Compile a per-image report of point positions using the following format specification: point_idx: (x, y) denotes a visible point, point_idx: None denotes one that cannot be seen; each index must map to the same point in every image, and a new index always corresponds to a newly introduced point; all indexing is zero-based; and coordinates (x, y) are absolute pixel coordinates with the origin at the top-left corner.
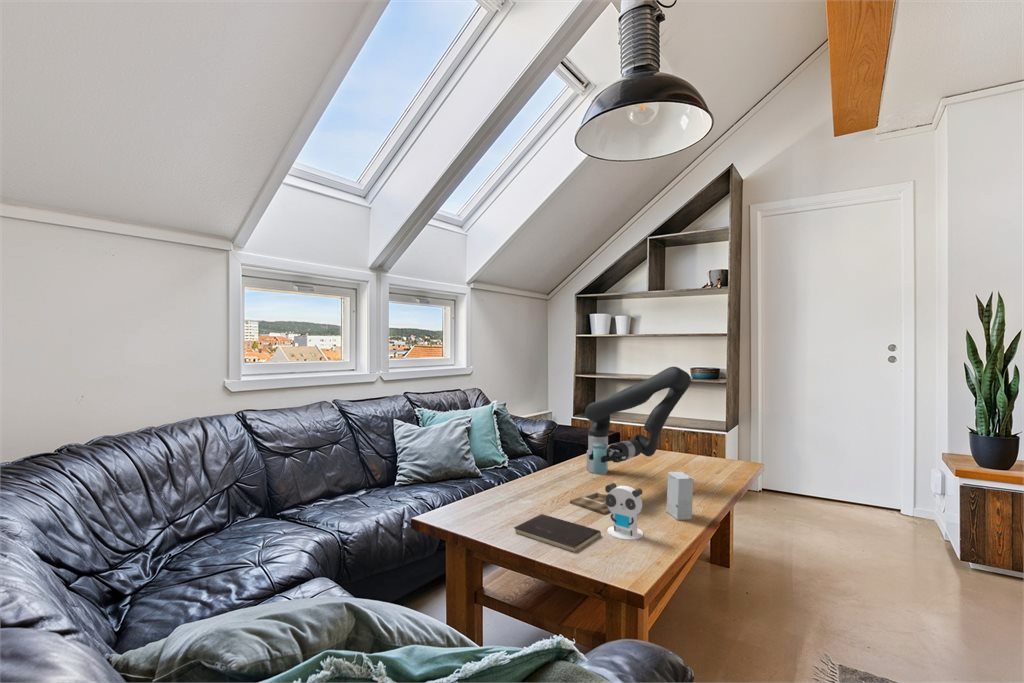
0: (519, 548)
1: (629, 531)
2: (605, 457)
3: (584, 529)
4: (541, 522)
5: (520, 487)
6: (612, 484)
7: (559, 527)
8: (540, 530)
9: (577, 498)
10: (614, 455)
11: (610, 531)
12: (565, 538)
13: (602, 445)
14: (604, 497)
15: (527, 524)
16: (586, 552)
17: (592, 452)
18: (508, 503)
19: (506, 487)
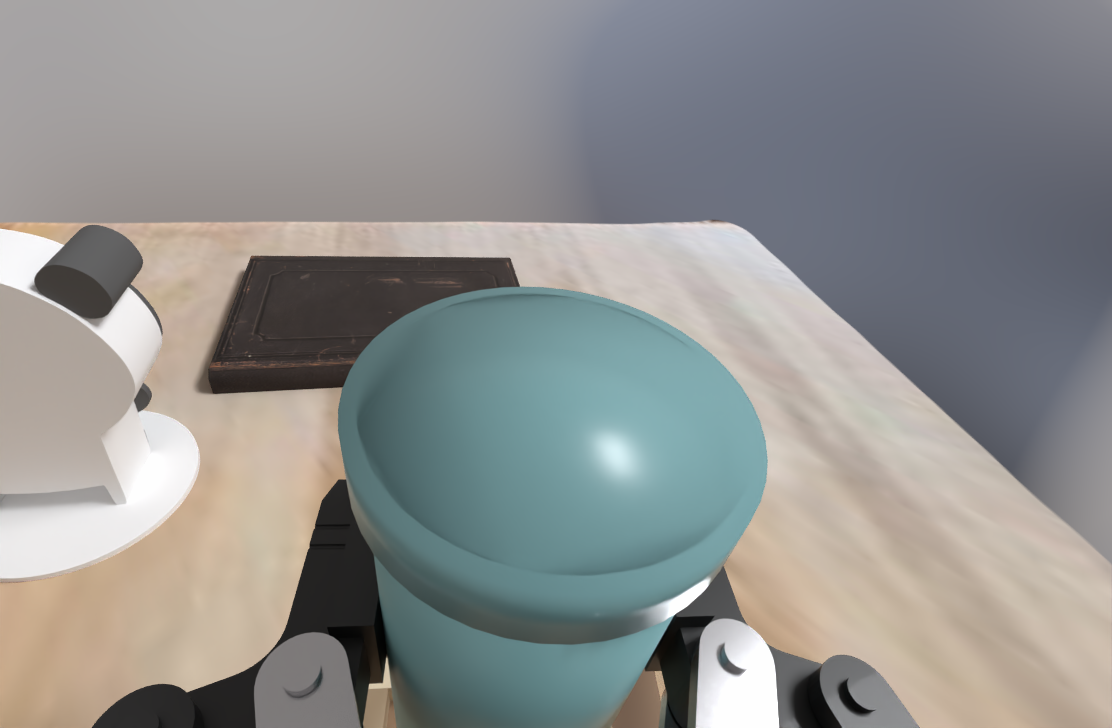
0: (415, 233)
1: (46, 499)
2: (346, 531)
3: (283, 344)
4: None
5: (1054, 592)
6: (64, 246)
7: (387, 312)
8: (426, 275)
9: (651, 690)
10: (134, 710)
11: (172, 438)
12: (311, 275)
13: (415, 344)
14: None
15: (497, 282)
16: (214, 287)
17: (826, 670)
18: (775, 397)
19: (1052, 529)
